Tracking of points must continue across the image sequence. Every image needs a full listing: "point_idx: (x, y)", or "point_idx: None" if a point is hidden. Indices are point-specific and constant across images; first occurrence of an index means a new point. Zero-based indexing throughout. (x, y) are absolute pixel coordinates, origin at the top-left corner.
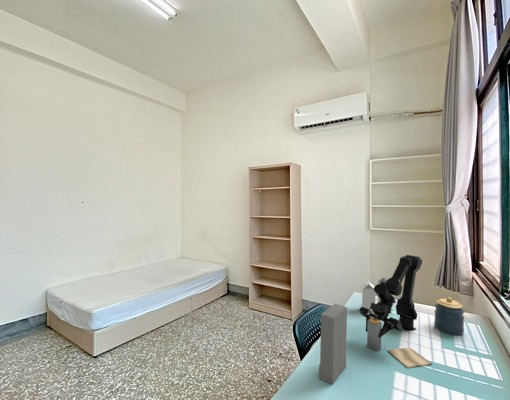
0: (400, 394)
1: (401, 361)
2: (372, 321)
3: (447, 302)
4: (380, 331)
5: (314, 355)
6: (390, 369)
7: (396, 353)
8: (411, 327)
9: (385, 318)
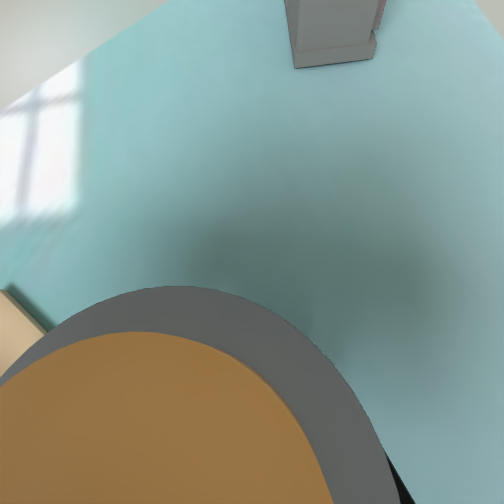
0: (52, 80)
1: (29, 321)
2: (157, 335)
3: None
4: None
5: (473, 37)
6: (98, 204)
7: None
8: None
9: None
